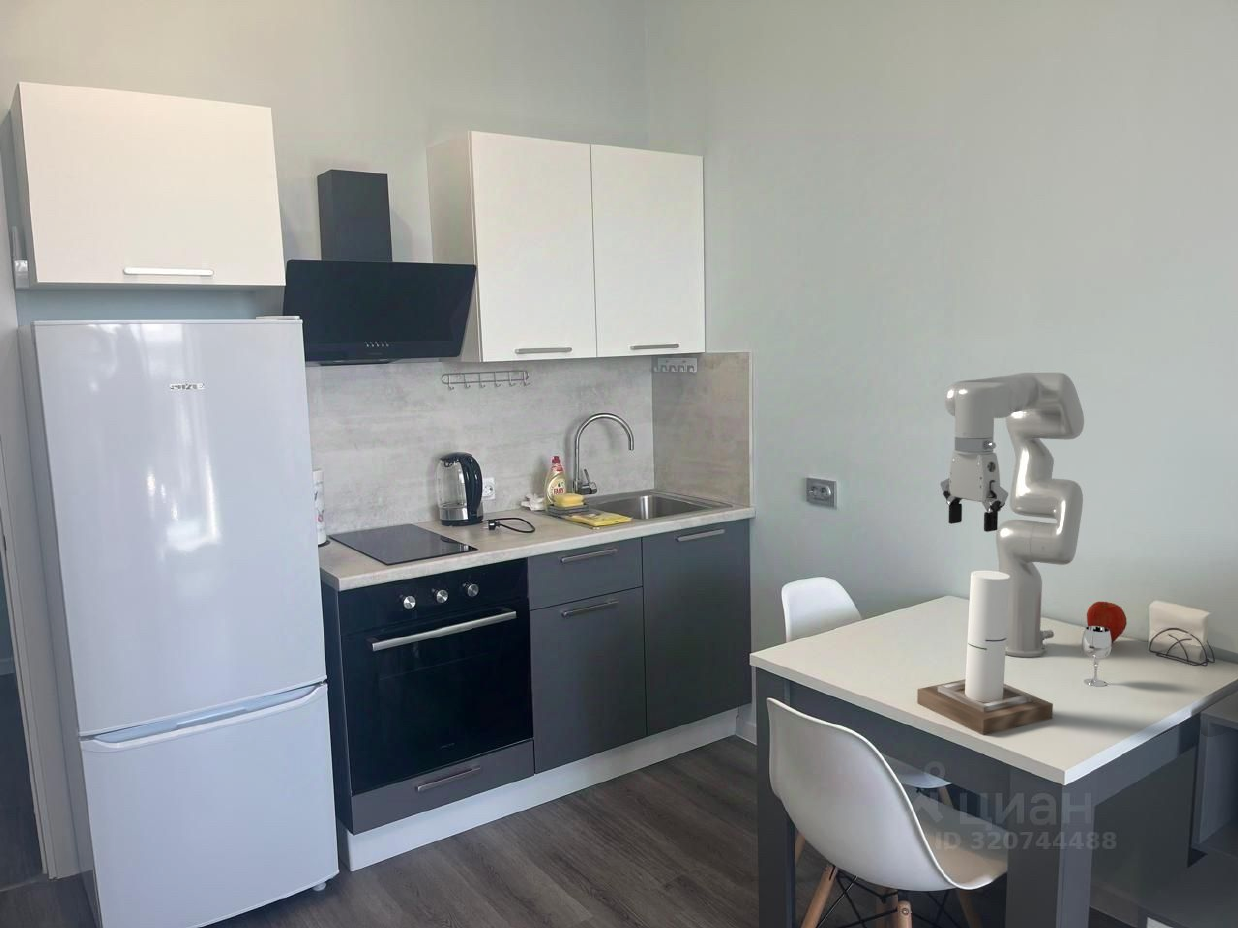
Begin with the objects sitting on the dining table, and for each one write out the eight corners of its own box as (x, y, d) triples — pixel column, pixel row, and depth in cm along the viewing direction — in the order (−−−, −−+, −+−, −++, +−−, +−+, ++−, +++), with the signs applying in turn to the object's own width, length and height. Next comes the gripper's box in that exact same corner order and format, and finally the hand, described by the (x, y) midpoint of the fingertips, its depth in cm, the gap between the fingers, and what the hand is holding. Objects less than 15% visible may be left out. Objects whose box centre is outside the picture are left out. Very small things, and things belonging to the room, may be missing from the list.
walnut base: (983, 688, 201) (983, 670, 200) (1052, 718, 185) (1053, 698, 184) (917, 702, 194) (917, 684, 193) (983, 734, 177) (983, 714, 177)
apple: (1131, 645, 227) (1133, 602, 226) (1113, 652, 222) (1115, 608, 221) (1097, 637, 234) (1098, 595, 233) (1078, 643, 229) (1080, 600, 228)
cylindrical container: (1006, 703, 185) (1013, 580, 181) (967, 700, 186) (974, 578, 183) (998, 690, 192) (1005, 571, 188) (962, 687, 193) (968, 569, 190)
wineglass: (1098, 689, 199) (1100, 634, 198) (1074, 681, 204) (1076, 627, 203) (1116, 684, 202) (1118, 630, 201) (1091, 676, 207) (1094, 623, 206)
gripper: (1020, 448, 187) (1018, 531, 190) (956, 440, 203) (955, 517, 205) (993, 451, 184) (991, 536, 187) (929, 443, 200) (928, 521, 202)
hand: (972, 526), depth 196 cm, fingers open, 9 cm apart
